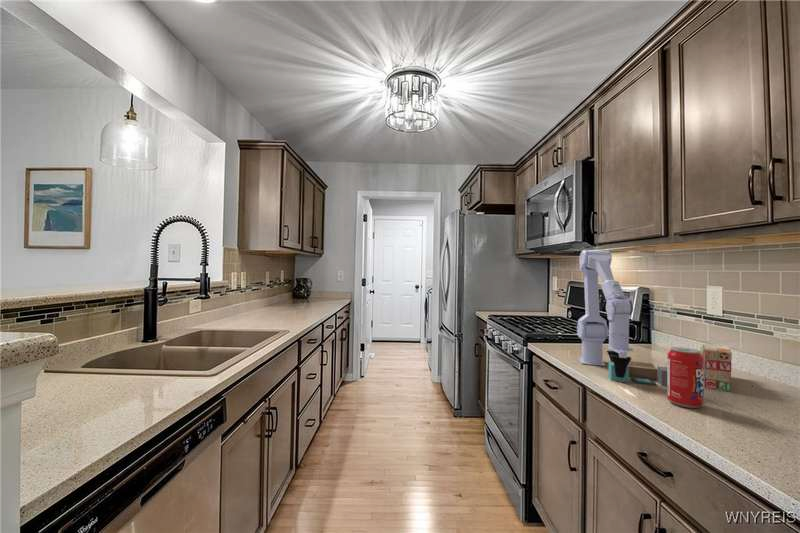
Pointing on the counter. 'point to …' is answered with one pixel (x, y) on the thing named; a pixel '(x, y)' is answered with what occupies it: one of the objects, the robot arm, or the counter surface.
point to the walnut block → (642, 370)
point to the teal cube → (613, 375)
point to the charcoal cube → (662, 376)
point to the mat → (643, 381)
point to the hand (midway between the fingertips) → (618, 374)
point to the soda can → (685, 377)
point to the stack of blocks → (717, 366)
